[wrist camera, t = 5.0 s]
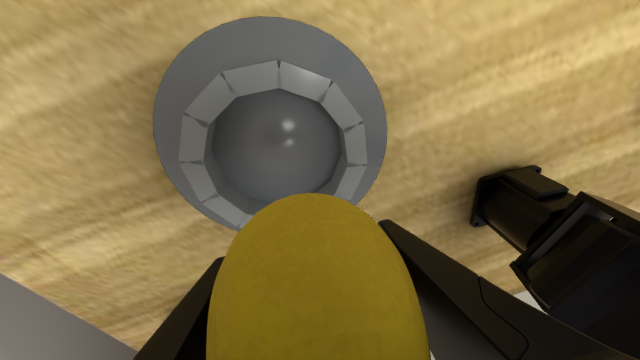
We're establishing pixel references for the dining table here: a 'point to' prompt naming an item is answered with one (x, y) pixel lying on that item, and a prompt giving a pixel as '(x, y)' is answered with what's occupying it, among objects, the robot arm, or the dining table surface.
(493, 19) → the dining table surface
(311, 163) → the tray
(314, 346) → the lemon
